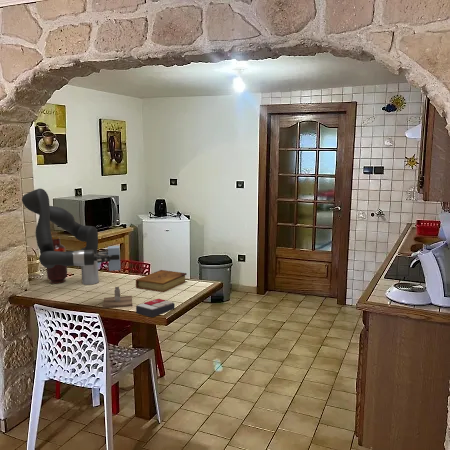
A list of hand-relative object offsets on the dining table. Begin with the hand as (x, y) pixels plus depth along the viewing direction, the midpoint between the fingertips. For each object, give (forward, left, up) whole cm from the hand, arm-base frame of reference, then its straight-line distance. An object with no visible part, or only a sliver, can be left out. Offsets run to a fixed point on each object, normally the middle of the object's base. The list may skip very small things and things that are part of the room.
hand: (119, 255), depth 228 cm
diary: (-27, +22, -25) cm, 43 cm away
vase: (-49, -37, -24) cm, 66 cm away
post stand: (0, -2, -24) cm, 24 cm away
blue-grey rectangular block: (0, -3, -6) cm, 7 cm away
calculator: (+16, +16, -25) cm, 33 cm away
